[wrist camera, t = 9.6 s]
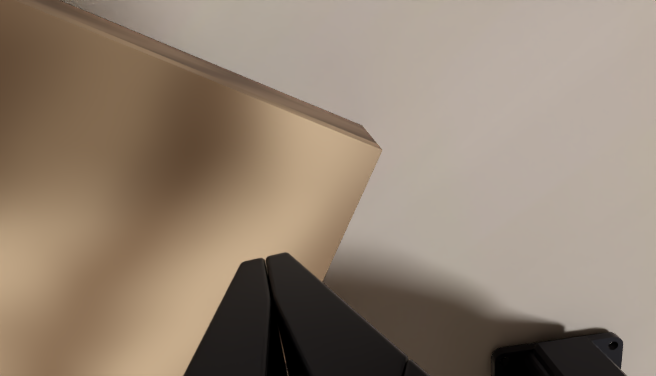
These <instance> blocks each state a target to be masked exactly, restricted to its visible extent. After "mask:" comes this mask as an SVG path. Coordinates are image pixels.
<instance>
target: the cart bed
mask: <svg viewBox="0 0 656 376" xmlns="http://www.w3.org/2000/svg"><path fill="white" fill-rule="evenodd" d="M381 152H382V149H381V148H380V147H379V145H378V144H377V143H376V142H375V141H374V139H373V138H372V137H371V136H370V135H369V133H368V132H367V131H366V130H365V129H364V127H363V126H362V125H359V124H357V123H355V122H352V121H350V120H347V119H345V118H342V117H340V116H338V115H335V114H333V113H330V112H328V111H326V110H323V109H321V108H318V107H316V106H313V105H311V104H309V103H306V102H304V101H301V100H299V99H297V98H294V97H292V96H289V95H287V94H284V93H282V92H280V91H277V90H275V89H272V88H270V87H268V86H265V85H263V84H260V83H258V82H256V81H253V80H251V79H248V78H246V77H243V76H241V75H239V74H236V73H234V72H231V71H229V70H227V69H224V68H222V67H219V66H217V65H214V64H212V63H210V62H207V61H205V60H202V59H200V58H198V57H195V56H193V55H190V54H188V53H186V52H183V51H181V50H178V49H176V48H173V47H171V46H169V45H166V44H164V43H161V42H159V41H157V40H154V39H152V38H149V37H147V36H144V35H142V34H140V33H137V32H135V31H132V30H130V29H128V28H125V27H123V26H120V25H118V24H115V23H113V22H111V21H108V20H106V19H103V18H101V17H99V16H96V15H94V14H91V13H89V12H87V11H84V10H82V9H79V8H77V7H74V6H72V5H70V4H67V3H65V2H62V1H60V0H0V376H183V375H184V373H185V371H186V369H187V367H188V365H189V363H190V361H191V359H192V357H193V355H194V353H195V351H196V349H197V347H198V346H199V344H200V342H201V340H202V338H203V336H204V334H205V332H206V330H207V328H208V326H209V324H210V322H211V320H212V318H213V316H214V314H215V312H216V310H217V308H218V307H219V305H220V303H221V301H222V299H223V297H224V295H225V293H226V291H227V289H228V287H229V285H230V283H231V281H232V279H233V277H234V275H235V273H236V271H237V269H238V267H239V265H240V264H241V263H242V262H244V261H248V260H252V259H257V258H263V259H264V260H265V263H266V257H267V256H270V255H275V254H279V253H284V252H287V253H289V254H290V255H292V256H293V257H294V258H295V259H296V260H297V261H299V262H300V263H301V264H302V265H303V266H304V267H305V268H307V269H308V270H309V271H310V272H311V273H312V274H313V275H315V276H316V277H317V278H318V279H319V280H320V281H323V279H324V277H325V275H326V273H327V271H328V268H329V266H330V264H331V262H332V260H333V257H334V255H335V253H336V251H337V249H338V246H339V244H340V242H341V240H342V238H343V235H344V233H345V231H346V229H347V227H348V224H349V222H350V220H351V218H352V216H353V214H354V211H355V209H356V207H357V205H358V203H359V200H360V198H361V196H362V194H363V192H364V189H365V187H366V185H367V183H368V181H369V178H370V176H371V174H372V172H373V170H374V167H375V165H376V163H377V161H378V159H379V157H380V154H381ZM266 267H267V266H266ZM279 333H280V332H279ZM280 338H281V337H280ZM281 343H282V342H281ZM282 348H283V347H282ZM283 353H284V352H283ZM284 358H285V357H284ZM285 363H286V362H285Z"/></svg>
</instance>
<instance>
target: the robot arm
mask: <svg viewBox="0 0 656 376" xmlns="http://www.w3.org/2000/svg"><path fill="white" fill-rule="evenodd" d="M266 266H267V267H266ZM279 332H280V333H279ZM280 337H281V338H280ZM281 342H282V343H281ZM611 342H612V343H611ZM610 343H611V344H610ZM282 347H283V348H282ZM622 351H623V341H622V340H621V339H620V338H619V337H618V336H617V335H616V334H614V333H612V332H607V333H600V334H593V335H587V336H580V337H573V338H566V339H559V340H552V341H545V342H538V343H531V344H524V345H517V346H510V347H503V348H499V349H496V350H495V351H494V352H493V353H492V356H491V373H492V376H627V375H626V374H625V373H624V372H623V371H622V370H621V362H622ZM283 352H284V353H283ZM284 357H285V358H284ZM503 357H505V358H504V359H503V360H500V359H501V358H503ZM285 362H286V363H285ZM286 366H287V369H286ZM287 371H288V375H289V376H430V375H429V374H427V373H426V372H425V371H424V370H423V369H422V368H421V367H420V366H418V365H417V364H416V363H415V362H414V361H413V360H408V357H407V355H405V354H404V353H403V352H402V351H401V350H400V349H399V348H397V347H396V346H395V345H394V344H393V343H392V342H391V341H389V340H388V339H387V338H386V337H385V336H384V335H382V334H381V333H380V332H379V331H378V330H377V329H376V328H374V327H373V326H372V325H371V324H370V323H369V322H368V321H366V320H365V319H364V318H363V317H362V316H361V315H359V314H358V313H357V312H356V311H355V310H354V309H353V308H351V307H350V306H349V305H348V304H347V303H346V302H345V301H343V300H342V299H341V298H340V297H339V296H338V295H336V294H335V293H334V292H333V291H332V290H331V289H330V288H328V287H327V286H326V285H325V284H324V283H323V282H322V281H320V280H319V279H318V278H317V277H316V276H315V275H313V274H312V273H311V272H310V271H309V270H308V269H307V268H305V267H304V266H303V265H302V264H301V263H300V262H299V261H297V260H296V259H295V258H294V257H293V256H292V255H290V254H289V253H287V252H284V253H279V254H275V255H270V256H267V257H266V263H265V260H264V259H263V258H257V259H252V260H248V261H244V262H242V263H241V264H240V265H239V267H238V269H237V271H236V273H235V275H234V277H233V279H232V281H231V283H230V285H229V287H228V289H227V291H226V293H225V295H224V297H223V299H222V301H221V303H220V305H219V307H218V308H217V310H216V312H215V314H214V316H213V318H212V320H211V322H210V324H209V326H208V328H207V330H206V332H205V334H204V336H203V338H202V340H201V342H200V344H199V346H198V347H197V349H196V351H195V353H194V355H193V357H192V359H191V361H190V363H189V365H188V367H187V369H186V371H185V373H184V375H183V376H288V375H287Z"/></svg>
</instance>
